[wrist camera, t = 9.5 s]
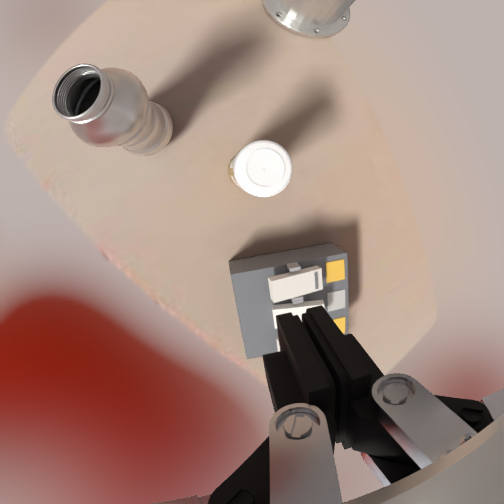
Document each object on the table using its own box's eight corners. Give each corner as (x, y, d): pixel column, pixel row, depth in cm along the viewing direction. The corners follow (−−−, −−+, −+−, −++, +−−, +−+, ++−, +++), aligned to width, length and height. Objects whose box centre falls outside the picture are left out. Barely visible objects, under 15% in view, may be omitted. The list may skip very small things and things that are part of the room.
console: (228, 260, 37) (231, 279, 30) (333, 241, 38) (354, 255, 32) (243, 339, 40) (248, 366, 34) (336, 319, 41) (354, 341, 35)
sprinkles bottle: (234, 193, 35) (244, 205, 22) (223, 157, 33) (226, 148, 20) (269, 182, 35) (300, 188, 22) (259, 146, 33) (284, 132, 21)
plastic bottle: (156, 167, 32) (86, 163, 13) (115, 140, 31) (19, 117, 12) (186, 123, 31) (151, 66, 12) (143, 97, 30) (74, 31, 11)
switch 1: (267, 277, 31) (271, 281, 30) (316, 265, 33) (322, 268, 31) (270, 298, 32) (274, 303, 31) (318, 285, 33) (323, 289, 32)
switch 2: (272, 305, 34) (272, 310, 32) (323, 299, 33) (324, 304, 32) (275, 323, 34) (274, 329, 33) (323, 318, 34) (325, 323, 32)
